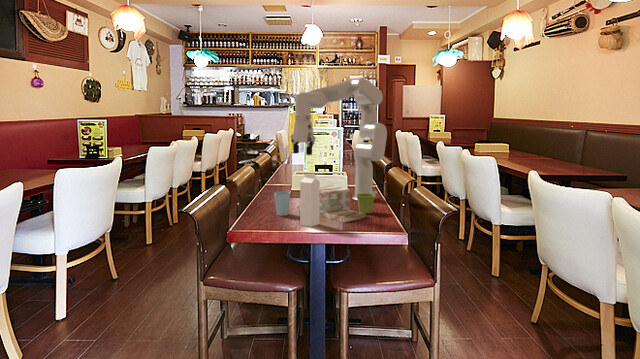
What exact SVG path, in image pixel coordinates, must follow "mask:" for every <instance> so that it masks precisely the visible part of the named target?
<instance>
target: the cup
mask: <svg viewBox="0 0 640 359" xmlns="http://www.w3.org/2000/svg"><path fill="white" fill-rule="evenodd" d="M291 194H292V193H291V192H289V191H275V192H274V193H273V195H274V202H275V211H276V215H277V216H281V217H285V216H289V211H290V210H289V209H290V202H291V201H290V200H291Z"/></svg>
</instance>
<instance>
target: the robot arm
mask: <svg viewBox="0 0 640 359" xmlns="http://www.w3.org/2000/svg"><path fill="white" fill-rule="evenodd" d="M352 96H353V98H354V99H353V100H354V101H355V103H356V105H357V106H358V108H359V111H360V114H361V115H360V123H359V131H358V133H359V134H358V135H359V137H360V139H361V140H364V141H363V142H361V141H360V142H359V143H357V144H356V145H355V146H354V148H353V156H354V162H355V163H354V164H355V173H354V174H355V177H354V179H355V180H354V181H355V182H354V183H355V184H354V195H353V196H352V198H351V199H352V200H353V201H357V202H358V199H357V196H356V194H360V193H369V194H374V195H377V194H378V191H377V190H374V191H373V177H374V176H373V172H374V169H373V168H374V167H373V163H372V162H380V161H381V160H382V159H383V158H384V156H385V151H386V146H387V145H386V143H387V137H388V130H387V127H386V125H385V124H383V123H381V122H377V118H378V117H377V116H378V114H377V113H378V112H377V109H376V107H375V106H378V105H380V104H381V103H382V102H383V100H384V98H383V97H384V96H383V92H382V91H381V89H379V88H378V87H377V85H375V84H373V83H372V82H371V81H369V80H368V79H366V78H363V77H358V78H357V77H356V78H348V79H346V80H343V81H339V82H337V83H333V84H331V85H327V86H324V87H320V88H317V89H316V88H315V89H313V90H309V91H299V92H297V93H295V107H294V108H295V109H294V112H295V114H294V116H295V117H294V124H293V133H292V134H291V135H290V136H289V137H290V140H291V144H292V149H293V150H292V152H293V153H292V154H299V153H300V144H299V143H305V144H306V147H305V148H306V149H305V151H306V152H305V154H306V156H312V155H313V146H314V144H315V141H316V137H315V135H314V126H313V122H312V109H322V108H324V107H326V105H327V104H328V103H333V102H339V101H341V100H344V99H347V98H350V97H352ZM365 140H366V141H372V142H365ZM375 200H376V197H375V198H374V201H375Z"/></svg>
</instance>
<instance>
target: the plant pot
mask: <svg viewBox="0 0 640 359" xmlns="http://www.w3.org/2000/svg"><path fill="white" fill-rule="evenodd" d="M376 195H377V194H375V195H374V194H369V193H360V194H356V196H357V199H358V201H357V205H358V212H362V213H365V215H366V214H371V213H372V212H373V206H374V201H375V200H374V198H375V199H376Z"/></svg>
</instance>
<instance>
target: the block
mask: <svg viewBox="0 0 640 359" xmlns="http://www.w3.org/2000/svg"><path fill="white" fill-rule="evenodd" d="M321 204H322V207H323V208H327V206H328V197H326V198H321ZM332 205H336V199H332V198H330V206H332Z"/></svg>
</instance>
